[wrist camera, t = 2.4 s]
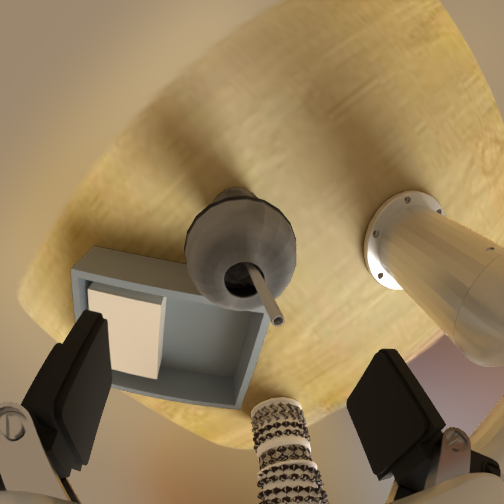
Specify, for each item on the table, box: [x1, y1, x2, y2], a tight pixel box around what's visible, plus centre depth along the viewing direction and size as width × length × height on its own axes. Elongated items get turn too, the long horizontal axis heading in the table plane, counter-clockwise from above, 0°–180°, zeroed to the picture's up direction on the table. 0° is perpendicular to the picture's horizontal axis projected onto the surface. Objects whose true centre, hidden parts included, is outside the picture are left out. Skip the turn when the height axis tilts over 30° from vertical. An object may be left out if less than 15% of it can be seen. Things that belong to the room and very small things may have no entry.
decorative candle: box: [251, 397, 330, 504], centre depth 31 cm, size 9×9×25 cm
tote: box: [71, 246, 271, 410], centre depth 31 cm, size 20×16×6 cm
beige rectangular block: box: [88, 281, 167, 379], centre depth 30 cm, size 8×11×4 cm
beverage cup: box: [184, 187, 296, 327], centre depth 20 cm, size 7×7×20 cm
